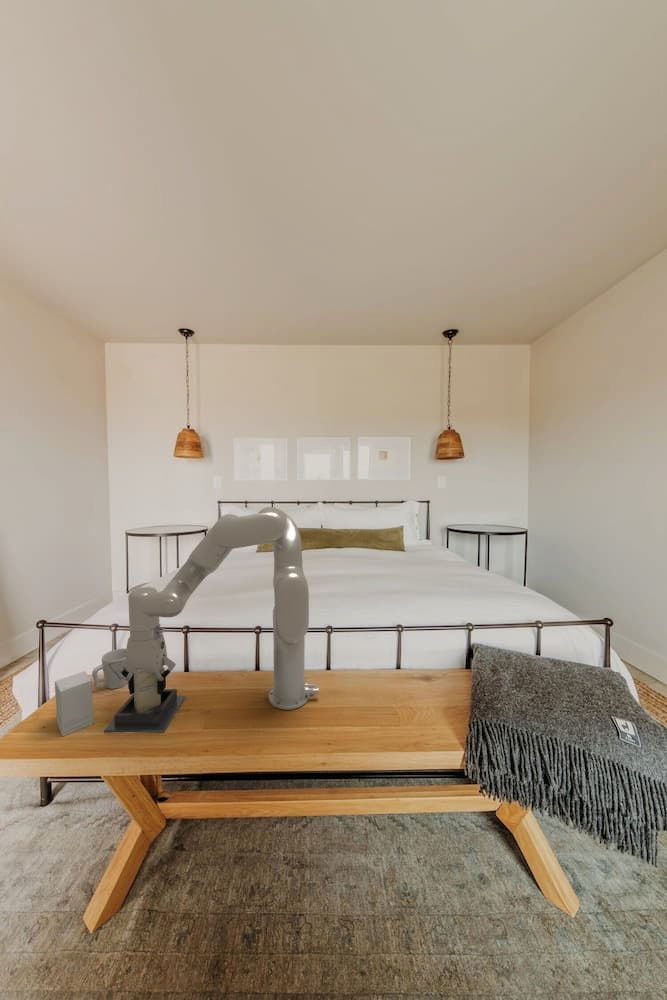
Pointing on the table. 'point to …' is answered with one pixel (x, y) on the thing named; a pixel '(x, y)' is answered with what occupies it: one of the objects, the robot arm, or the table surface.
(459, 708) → the table surface
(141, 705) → the skincare box
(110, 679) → the mug
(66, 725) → the supplement box
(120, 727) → the sleeve holder
